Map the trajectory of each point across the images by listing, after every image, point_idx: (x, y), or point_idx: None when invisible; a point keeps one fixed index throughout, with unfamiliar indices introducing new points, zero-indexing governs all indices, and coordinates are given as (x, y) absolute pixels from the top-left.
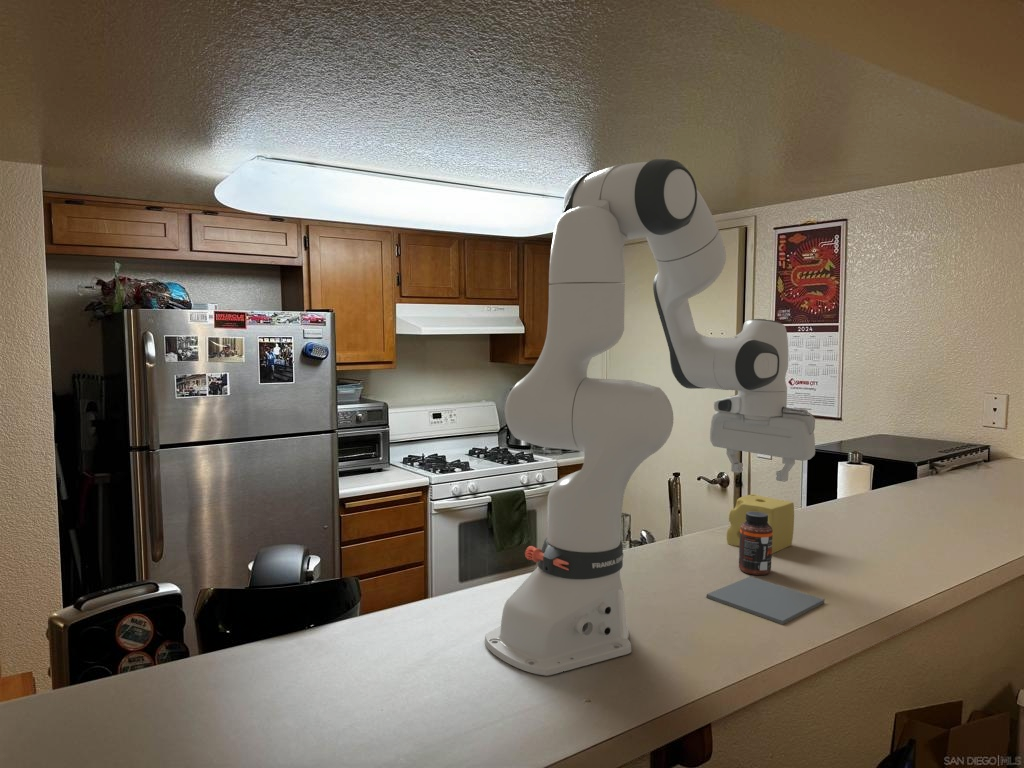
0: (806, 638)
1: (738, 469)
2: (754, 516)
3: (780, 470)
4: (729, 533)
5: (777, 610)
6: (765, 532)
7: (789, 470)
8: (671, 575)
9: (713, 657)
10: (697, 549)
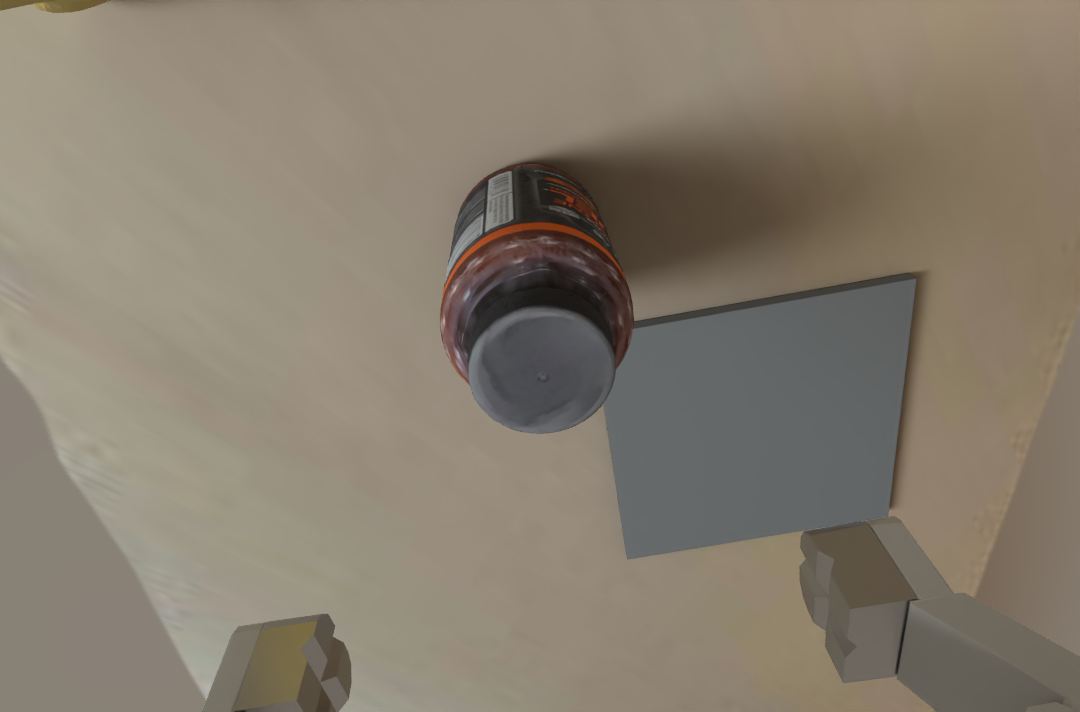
0: (966, 516)
1: (338, 691)
2: (573, 425)
3: (852, 625)
4: (74, 10)
5: (841, 479)
6: (628, 347)
7: (980, 609)
8: (418, 527)
9: (851, 706)
10: (154, 241)
